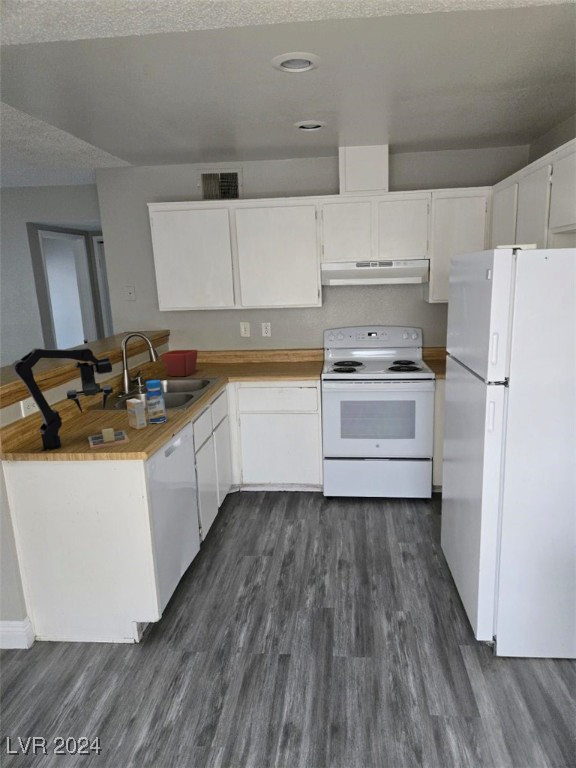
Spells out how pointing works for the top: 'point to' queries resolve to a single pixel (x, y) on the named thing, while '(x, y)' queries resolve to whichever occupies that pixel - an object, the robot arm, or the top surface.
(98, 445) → the rail frame
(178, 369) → the plant pot
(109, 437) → the pale yellow block
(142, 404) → the supplement box
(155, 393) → the beverage bottle
